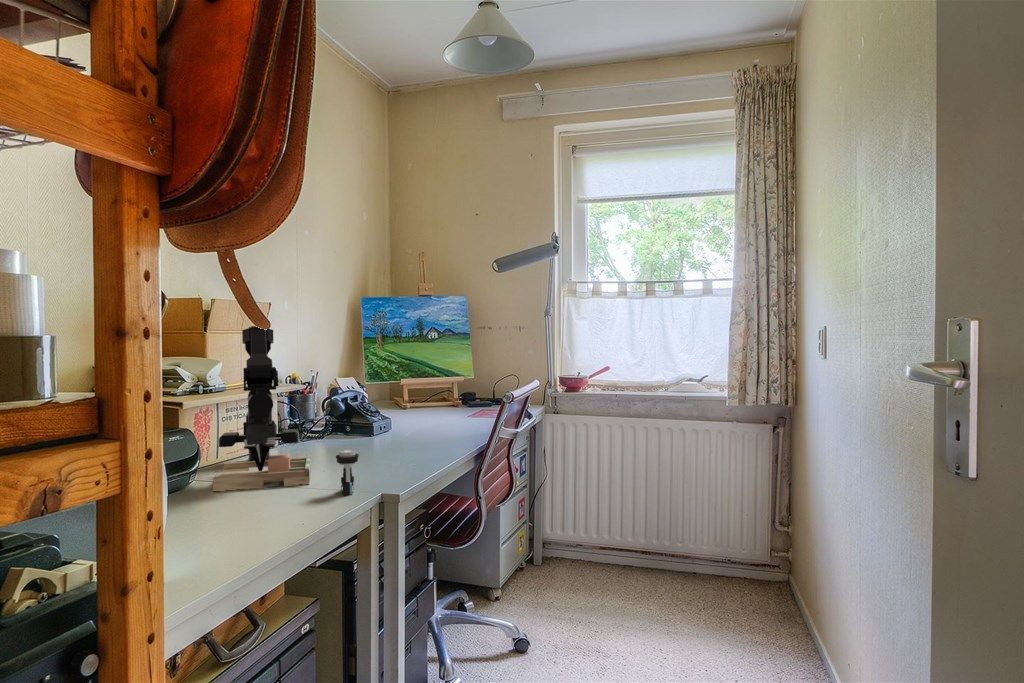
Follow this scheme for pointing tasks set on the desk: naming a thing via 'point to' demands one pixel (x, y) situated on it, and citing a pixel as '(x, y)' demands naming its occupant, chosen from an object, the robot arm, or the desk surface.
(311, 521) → the desk surface
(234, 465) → the board
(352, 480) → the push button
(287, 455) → the block
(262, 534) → the desk surface
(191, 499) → the desk surface
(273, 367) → the robot arm
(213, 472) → the desk surface
